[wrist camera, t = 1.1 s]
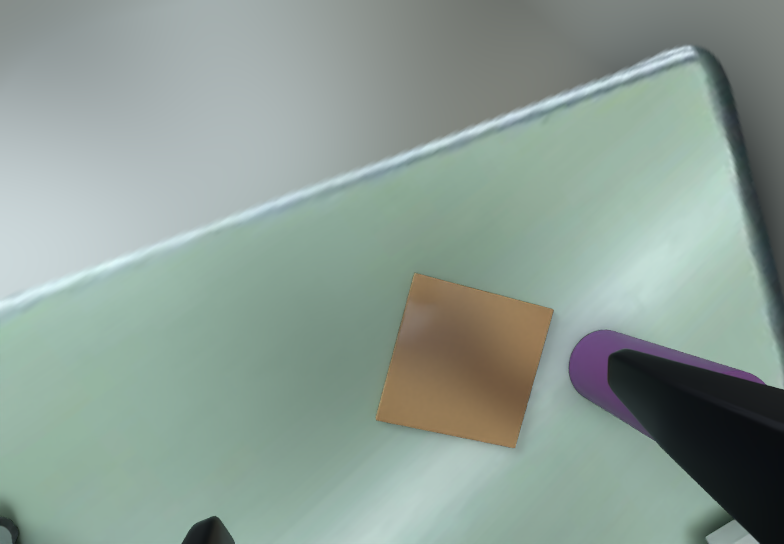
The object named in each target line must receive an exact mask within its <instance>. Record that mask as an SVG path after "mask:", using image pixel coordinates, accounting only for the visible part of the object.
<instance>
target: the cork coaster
mask: <svg viewBox="0 0 784 544" xmlns="http://www.w3.org/2000/svg"><path fill="white" fill-rule="evenodd" d="M553 311H554V310H553V309H550V308H546V307H543V306H539V305H535V304H531V303H527V302H524V301H520V300H516V299H512V298H508V297H505V296H501V295H497V294H493V293H489V292H486V291H482V290H478V289H474V288H470V287H467V286H463V285H459V284H455V283H451V282H448V281H444V280H440V279H436V278H432V277H429V276H425V275H421V274H417V273H414V276H413V280H412V283H411V287H410V291H409V295H408V298H407V302H406V306H405V310H404V313H403V317H402V321H401V325H400V328H399V332H398V336H397V340H396V343H395V347H394V351H393V355H392V358H391V362H390V366H389V369H388V373H387V377H386V381H385V384H384V388H383V392H382V396H381V399H380V403H379V407H378V411H377V414H376V420H377V421H382V422H387V423H392V424H397V425H402V426H407V427H412V428H417V429H422V430H427V431H432V432H437V433H442V434H447V435H452V436H457V437H461V438H466V439H471V440H476V441H481V442H486V443H491V444H496V445H501V446H506V447H511V448H515V446H516V443H517V439H518V436H519V432H520V428H521V425H522V421H523V418H524V414H525V411H526V407H527V403H528V400H529V396H530V393H531V389H532V386H533V382H534V378H535V375H536V371H537V368H538V364H539V361H540V357H541V353H542V350H543V346H544V343H545V339H546V336H547V332H548V328H549V325H550V321H551V318H552V314H553Z"/></svg>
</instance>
